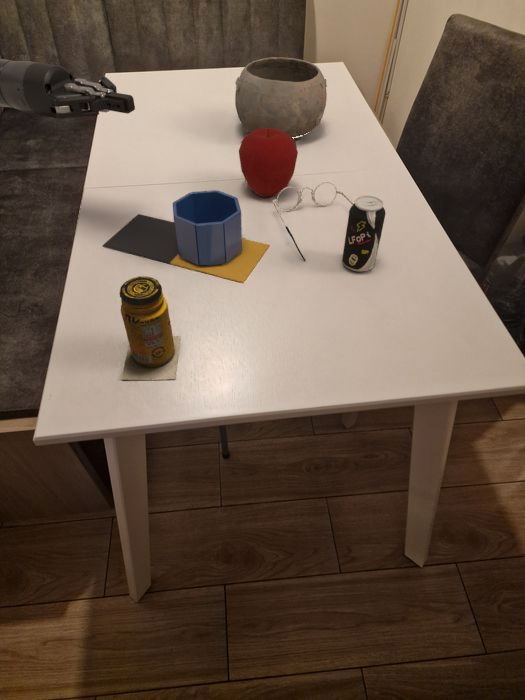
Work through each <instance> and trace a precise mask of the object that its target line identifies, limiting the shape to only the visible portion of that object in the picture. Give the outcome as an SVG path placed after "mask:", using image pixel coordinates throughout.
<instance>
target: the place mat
mask: <svg viewBox="0 0 525 700" xmlns="http://www.w3.org/2000/svg"><path fill="white" fill-rule="evenodd" d="M102 247H103V248H106V249H110V250H114V251H118V252H122V253H126V254H130V255H134V256H138V257H141V258H145V259H149V260H153V261H156V262H160V263H163V264H169V265H172V266H176V267H180V268H183V269H187V270H191V271H195V272H198V273H199V272H200V273H202V274H207V275H209V276H210V275H211V276H213V277H217V278H221V279H226V280H229V281H233V282H237V283H241V284H244V283H245V282H246V281H247V279H248V277H249V276H250V274H251V273H252V272H253V270H254V269H255V267H256V266H257V265H258V264H259V262H260V261H261V260H262V258H263V256H264V255H265V253H266V252H267V251H268V249H269V248H270V247H271V245H270V244H268V243H264V242H258V241H255V240H251V239H247V238H243V237H242V251H241V252H240V253H239V254H237V256H236V257H235V258H234V259H232V260H231V261H229V262H227V263H225V264H222V265H217V266H199V265H195V264H192V263H190V262H188V261H186V260H185V259H184V258H181V257H180V256H179V253H178V246H177V238H176V231H175V224H174V221H170V220H165V219H162V218H157V217H153V216H150V215H149V216H148V215H144V214H140V213H138V214H137V215H135V216H134V217H133V218H132V219H131V220H130V221H128V222H127V223H126V224H125V225H124V226H123V227H121V229H120V230H118V231H117V232H116V233H115V234H113V236H111V237H110V238H109V239H108V240H107V241H106V242H104V243H103V244H102Z"/></svg>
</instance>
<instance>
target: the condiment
mask: <svg viewBox="0 0 525 700" xmlns="http://www.w3.org/2000/svg"><path fill="white" fill-rule="evenodd" d="M119 298H120V303H121V305H120V314H121V318H122V321H123V325H124V328H125V332H126V337H127V342H128V348H127V353H126V356H125V360H124V364H123V368H122V369H123V370H122V374H121V378H120V380H127V381H158V380H176V376H177V368H178V361H179V351H180V343H181V335H173V330H172V329H173V328H172V324H171V319H170V318H171V317H170V312H169V305H168V302H167V299H166V297H165V296H164V292H163V287H162V284H161V282H159V280H158V279H156V278H154V277H151V276H147V275H146V276H144V275H143V276H140V275H138V276H136V277H132V278H130V279H128V280H126V281H125V282H123V283H122V285H121V286H120V288H119Z"/></svg>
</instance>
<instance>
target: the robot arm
mask: <svg viewBox="0 0 525 700" xmlns="http://www.w3.org/2000/svg"><path fill="white" fill-rule="evenodd" d="M98 79H99V80H98V82H93V81H90V80H87V79H86V78H75V77H74V76H73V75H72V73H71V72H70V71H69V70H68V69H67V68H65V67H64V66H62V65H56V64H50V63H44V62H36V61H30V60H10V59H3V58H0V107H2V108H7V109H12V110H13V109H14V110H18V111H20V112H23V113H26V114H31V115H37V116H42V117H47V118H53V119H58V120H65V119H72V118H84V117H95V116H98V115H100V113H108V112H115V113H122V114H131V113H132V112H134V111H135V110H136V106H135V100H134V99H135V98H134V97H133V95H130V94H125V93H120V92H117V90H118V89H117V86H116V84H115V83H114V82H112V81H111V80H110V79H109V78H108V77H107V76H101V77H98Z"/></svg>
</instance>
